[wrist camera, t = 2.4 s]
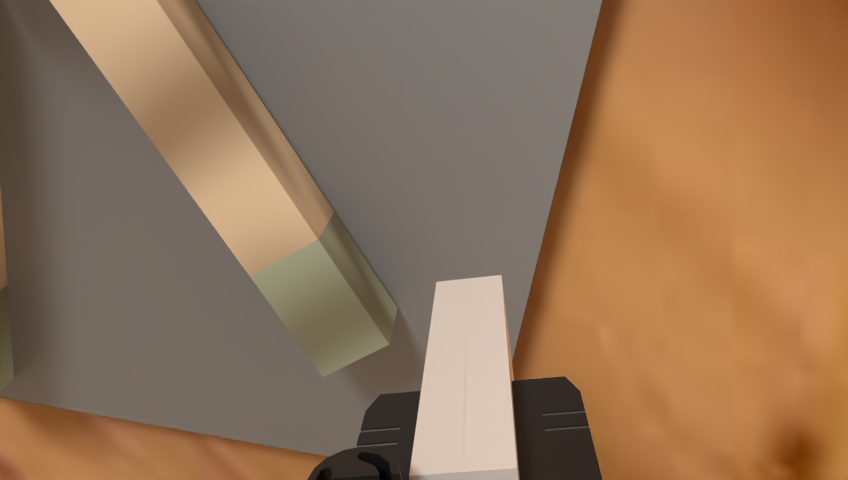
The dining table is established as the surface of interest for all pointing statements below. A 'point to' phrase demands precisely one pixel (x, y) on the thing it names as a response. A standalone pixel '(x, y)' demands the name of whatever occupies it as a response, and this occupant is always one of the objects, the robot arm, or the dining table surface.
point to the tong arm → (238, 171)
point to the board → (331, 171)
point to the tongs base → (4, 316)
